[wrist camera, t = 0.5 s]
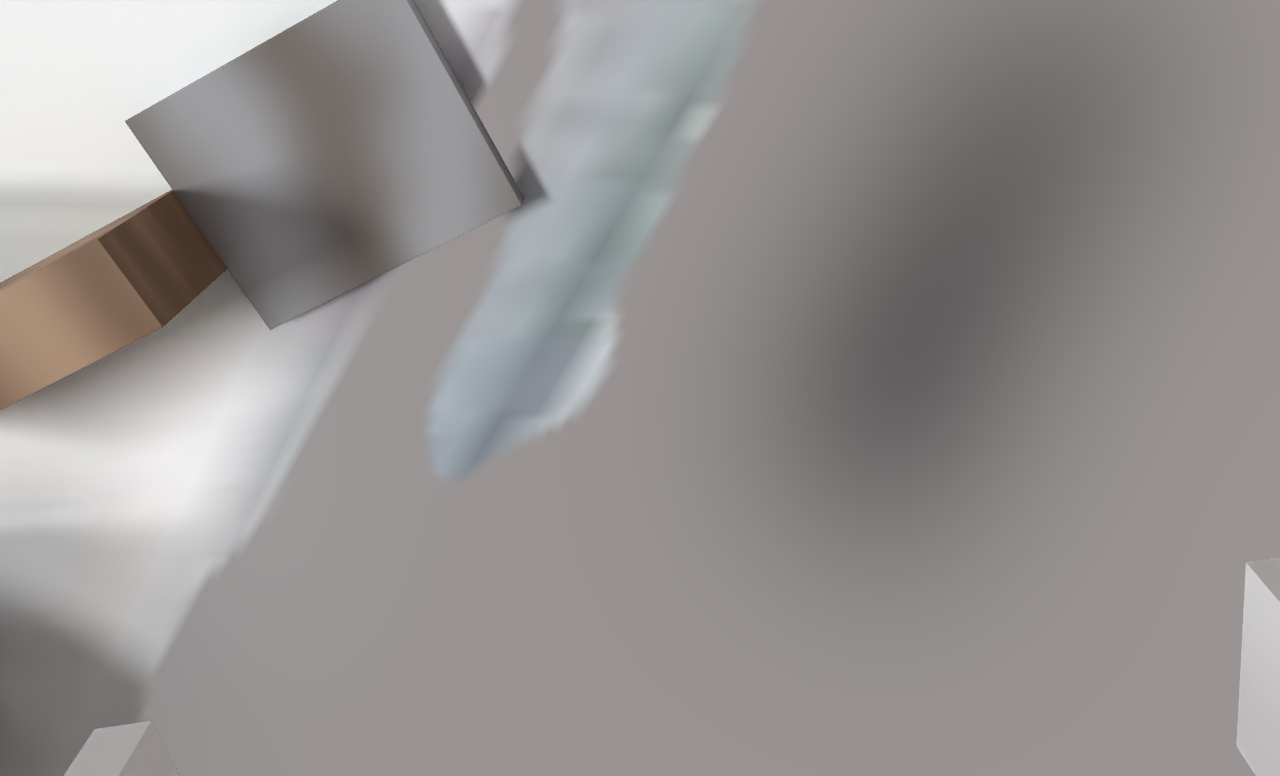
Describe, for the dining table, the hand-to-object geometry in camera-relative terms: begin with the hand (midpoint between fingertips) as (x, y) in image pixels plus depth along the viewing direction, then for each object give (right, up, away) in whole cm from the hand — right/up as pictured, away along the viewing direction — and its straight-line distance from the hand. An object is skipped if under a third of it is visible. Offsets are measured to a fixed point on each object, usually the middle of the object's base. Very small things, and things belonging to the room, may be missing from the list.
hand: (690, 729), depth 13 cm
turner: (-17, +9, +24) cm, 31 cm away
